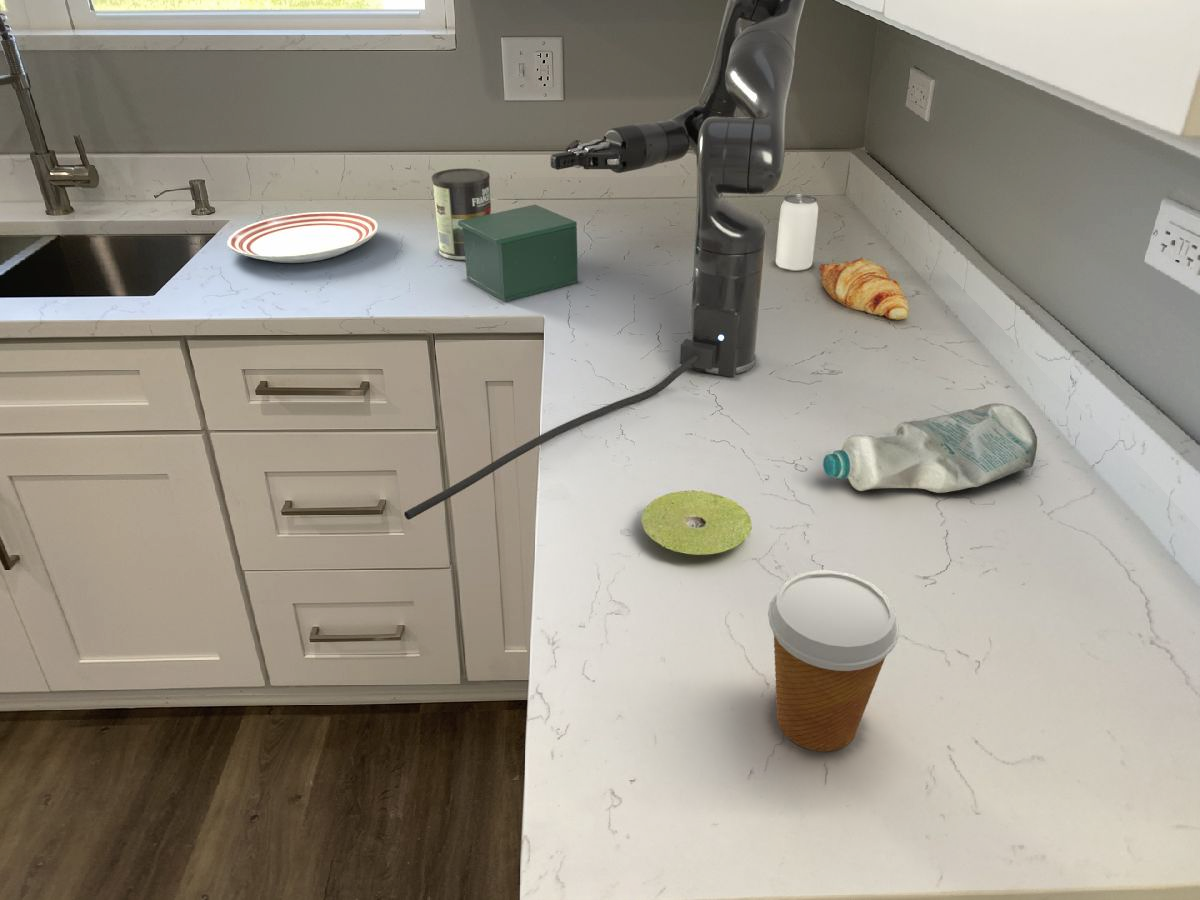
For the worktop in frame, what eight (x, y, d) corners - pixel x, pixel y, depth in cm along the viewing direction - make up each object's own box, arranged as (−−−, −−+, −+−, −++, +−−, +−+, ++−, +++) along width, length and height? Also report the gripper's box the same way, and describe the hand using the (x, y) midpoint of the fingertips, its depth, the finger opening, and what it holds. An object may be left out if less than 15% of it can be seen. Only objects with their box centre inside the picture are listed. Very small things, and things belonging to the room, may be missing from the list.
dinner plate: (198, 264, 167) (193, 246, 166) (287, 220, 190) (284, 204, 188) (329, 280, 160) (326, 261, 158) (406, 232, 182) (404, 216, 180)
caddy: (504, 302, 151) (501, 244, 146) (466, 280, 160) (462, 224, 155) (577, 282, 158) (576, 226, 153) (537, 262, 167) (535, 209, 162)
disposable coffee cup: (803, 786, 69) (822, 668, 63) (734, 700, 76) (744, 586, 70) (903, 742, 72) (930, 626, 66) (828, 664, 80) (846, 553, 73)
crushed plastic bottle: (981, 431, 114) (794, 455, 108) (998, 381, 109) (805, 404, 104) (1049, 496, 103) (847, 527, 98) (1070, 444, 99) (860, 473, 93)
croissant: (915, 341, 145) (942, 295, 142) (875, 324, 139) (903, 276, 137) (829, 294, 161) (852, 252, 159) (791, 277, 155) (814, 233, 153)
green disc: (691, 492, 103) (692, 477, 102) (772, 536, 96) (774, 521, 95) (618, 534, 96) (619, 518, 95) (700, 584, 89) (701, 568, 88)
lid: (496, 245, 145) (496, 240, 145) (458, 225, 154) (457, 220, 154) (576, 226, 153) (576, 221, 153) (535, 208, 162) (535, 204, 162)
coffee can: (503, 245, 175) (499, 170, 168) (478, 263, 167) (472, 185, 160) (456, 239, 178) (449, 165, 171) (428, 256, 170) (420, 179, 163)
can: (810, 259, 168) (817, 193, 161) (813, 272, 162) (821, 204, 156) (774, 258, 168) (780, 193, 162) (776, 271, 163) (782, 203, 156)
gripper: (612, 118, 164) (530, 132, 155) (659, 131, 155) (575, 146, 146) (612, 161, 168) (532, 177, 159) (658, 176, 159) (576, 194, 150)
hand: (553, 162), depth 153 cm, fingers closed
